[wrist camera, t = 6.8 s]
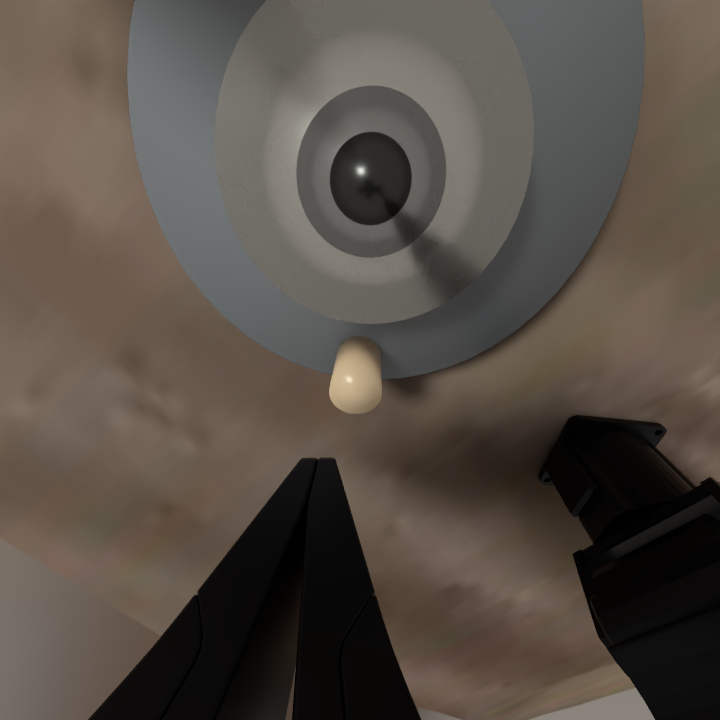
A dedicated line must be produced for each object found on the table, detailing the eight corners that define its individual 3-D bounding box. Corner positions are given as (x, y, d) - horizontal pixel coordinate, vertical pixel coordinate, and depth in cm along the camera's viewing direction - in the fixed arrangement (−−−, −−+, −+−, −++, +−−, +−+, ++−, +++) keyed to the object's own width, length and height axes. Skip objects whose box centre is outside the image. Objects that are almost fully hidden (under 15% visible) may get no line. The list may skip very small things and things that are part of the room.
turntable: (735, -159, 10) (1020, -421, 6) (519, 379, 20) (560, 438, 16) (84, -234, 10) (-153, -568, 5) (194, 348, 20) (142, 399, 15)
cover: (533, 26, 11) (622, -56, 7) (461, 305, 16) (489, 348, 12) (240, -6, 11) (163, -108, 7) (259, 284, 16) (221, 321, 12)
